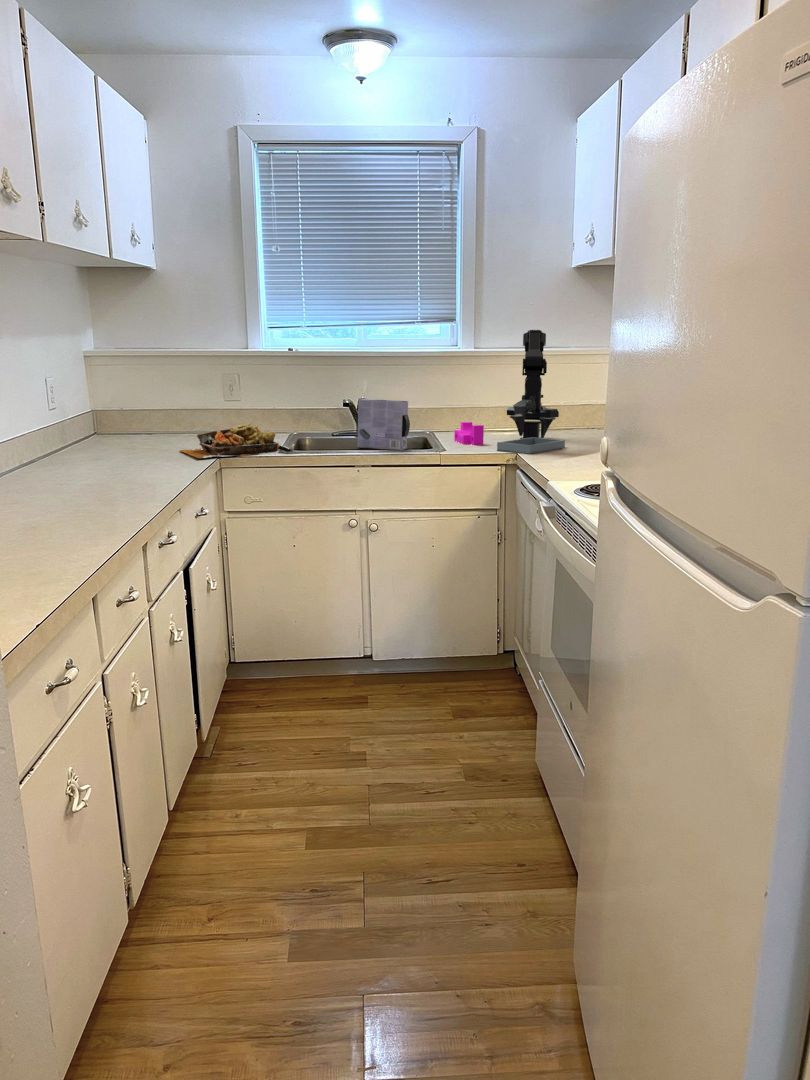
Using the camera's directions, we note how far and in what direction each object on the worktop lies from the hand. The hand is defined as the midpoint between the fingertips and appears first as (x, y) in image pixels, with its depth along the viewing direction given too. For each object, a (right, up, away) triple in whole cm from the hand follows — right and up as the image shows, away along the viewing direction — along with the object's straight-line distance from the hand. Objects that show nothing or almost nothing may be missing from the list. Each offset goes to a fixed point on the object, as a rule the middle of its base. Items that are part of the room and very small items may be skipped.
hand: (531, 436), depth 283 cm
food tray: (-105, -6, +3) cm, 105 cm away
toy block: (-21, 0, +21) cm, 30 cm away
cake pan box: (-53, -4, +7) cm, 53 cm away
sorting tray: (0, -4, +1) cm, 4 cm away
